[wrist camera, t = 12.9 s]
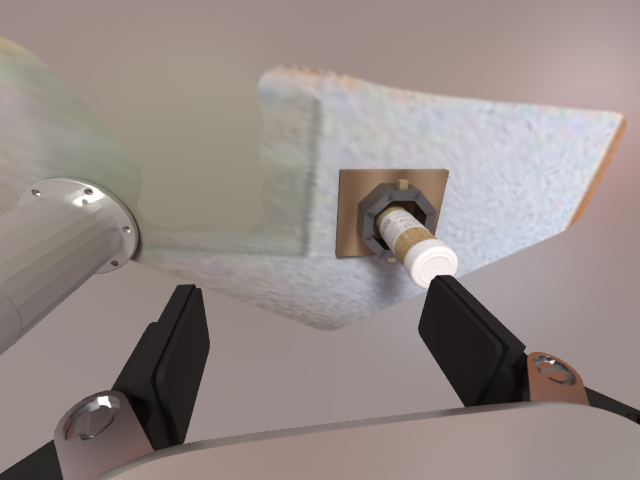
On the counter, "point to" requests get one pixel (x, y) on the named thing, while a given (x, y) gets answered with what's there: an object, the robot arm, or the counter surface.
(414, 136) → the counter surface
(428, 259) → the sprinkles bottle
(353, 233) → the walnut board
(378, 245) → the socket
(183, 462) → the robot arm
